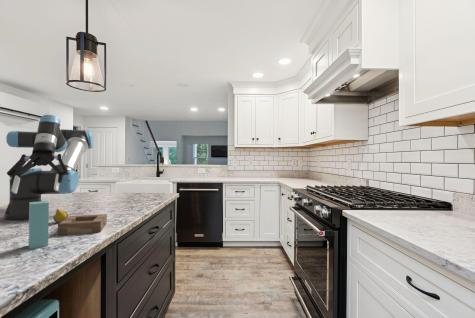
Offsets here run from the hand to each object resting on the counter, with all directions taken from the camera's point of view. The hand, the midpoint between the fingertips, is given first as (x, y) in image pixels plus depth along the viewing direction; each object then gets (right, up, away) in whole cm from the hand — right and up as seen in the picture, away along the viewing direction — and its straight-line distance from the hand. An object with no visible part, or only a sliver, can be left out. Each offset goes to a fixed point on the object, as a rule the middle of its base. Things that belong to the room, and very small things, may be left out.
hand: (35, 191), depth 97 cm
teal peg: (+15, -15, -17) cm, 28 cm away
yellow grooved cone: (+2, -16, +12) cm, 20 cm away
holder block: (+18, -16, +3) cm, 24 cm away
